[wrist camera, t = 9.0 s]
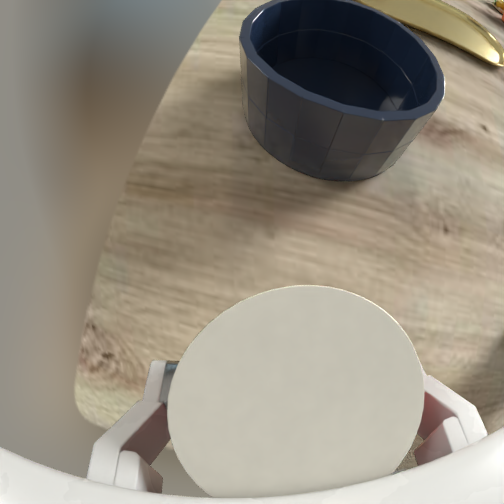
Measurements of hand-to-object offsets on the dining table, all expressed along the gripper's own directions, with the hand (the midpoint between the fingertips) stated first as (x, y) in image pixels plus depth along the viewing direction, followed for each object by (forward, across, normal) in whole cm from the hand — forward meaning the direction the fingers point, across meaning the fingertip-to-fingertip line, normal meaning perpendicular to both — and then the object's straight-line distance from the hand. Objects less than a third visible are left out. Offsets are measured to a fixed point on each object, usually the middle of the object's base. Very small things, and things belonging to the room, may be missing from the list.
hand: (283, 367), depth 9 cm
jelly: (+3, 0, +4) cm, 4 cm away
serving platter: (+43, -33, -25) cm, 60 cm away
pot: (+24, -8, -6) cm, 26 cm away
